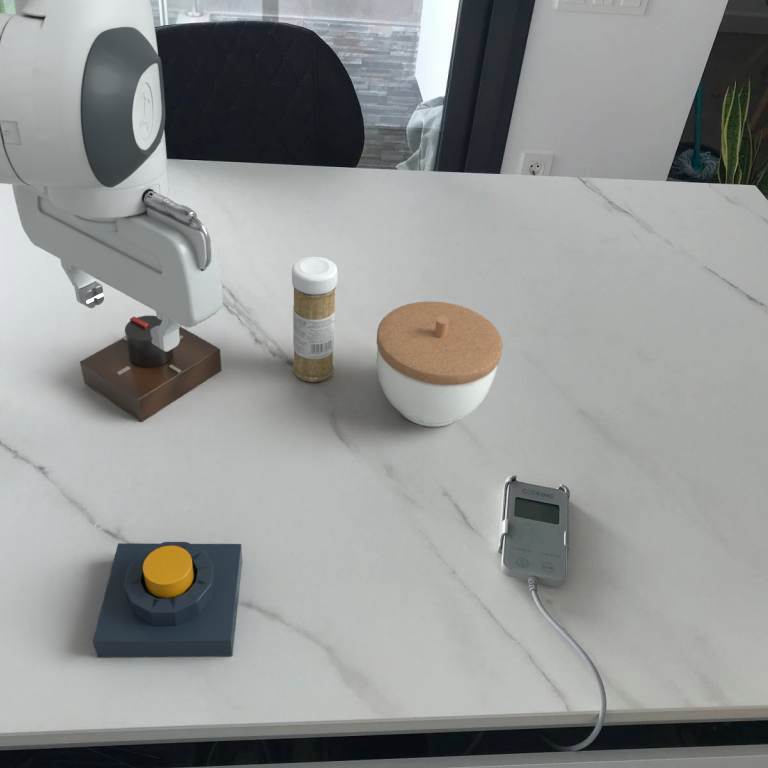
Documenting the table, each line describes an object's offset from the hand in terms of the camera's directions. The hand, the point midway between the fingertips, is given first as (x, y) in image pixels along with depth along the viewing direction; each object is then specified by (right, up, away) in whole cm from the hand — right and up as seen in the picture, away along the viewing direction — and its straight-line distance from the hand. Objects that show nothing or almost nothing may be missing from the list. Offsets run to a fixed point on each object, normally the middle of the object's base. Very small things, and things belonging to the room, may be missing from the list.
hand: (127, 323), depth 67 cm
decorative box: (+27, -8, +16) cm, 33 cm away
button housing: (+5, -23, -5) cm, 24 cm away
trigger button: (+6, -20, -7) cm, 22 cm away
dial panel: (-3, -5, +16) cm, 17 cm away
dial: (-2, -2, +14) cm, 15 cm away
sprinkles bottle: (+14, -4, +19) cm, 24 cm away
